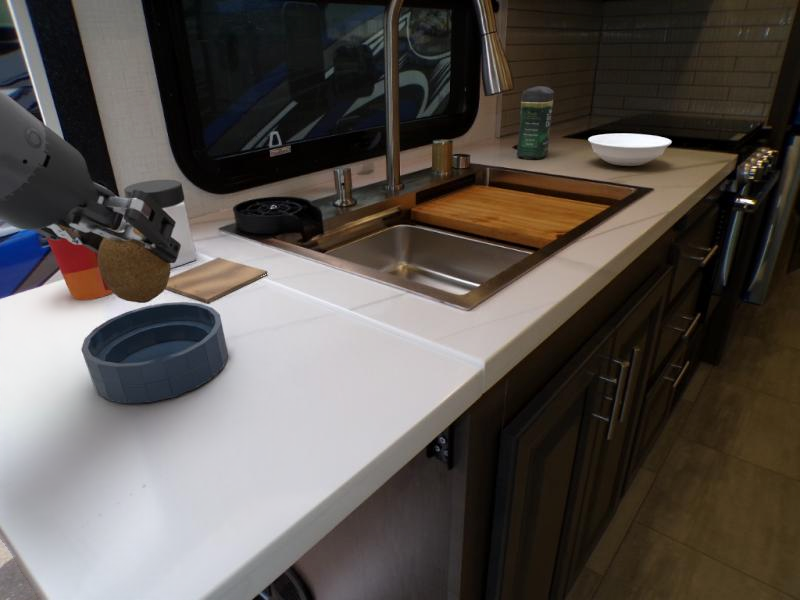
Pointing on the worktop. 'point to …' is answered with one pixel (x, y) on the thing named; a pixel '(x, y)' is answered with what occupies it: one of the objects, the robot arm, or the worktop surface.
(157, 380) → the glazed bowl
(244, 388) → the worktop surface
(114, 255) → the fruit
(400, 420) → the worktop surface
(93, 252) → the coffee cup
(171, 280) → the board
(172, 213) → the jar
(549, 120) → the green canister
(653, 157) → the bowl
